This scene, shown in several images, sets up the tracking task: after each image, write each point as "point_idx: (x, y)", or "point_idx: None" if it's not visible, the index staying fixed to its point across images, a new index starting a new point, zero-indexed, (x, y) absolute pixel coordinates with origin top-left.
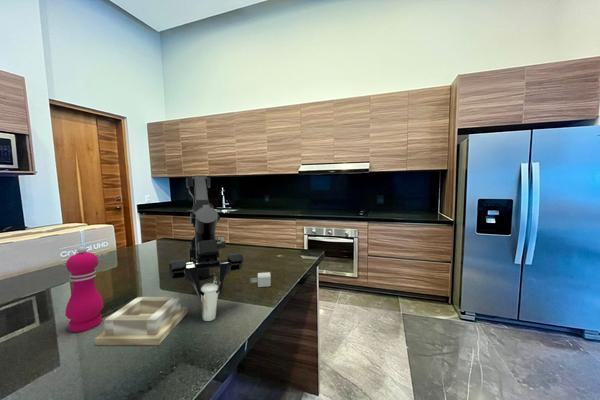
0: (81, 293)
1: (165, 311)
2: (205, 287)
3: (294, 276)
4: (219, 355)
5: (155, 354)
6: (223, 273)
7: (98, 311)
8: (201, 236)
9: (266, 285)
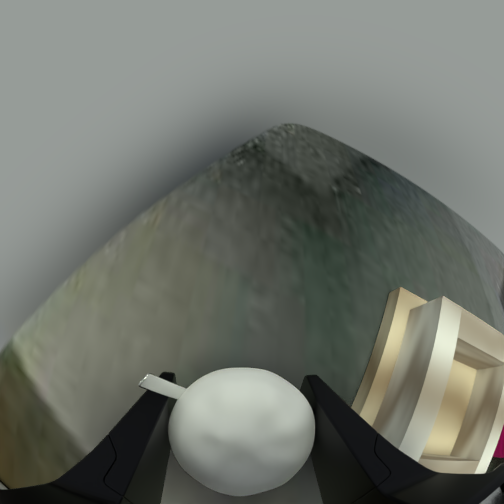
0: None
1: (427, 363)
2: (285, 404)
3: None
4: (234, 176)
5: (386, 255)
6: (86, 476)
7: None
8: None
9: (3, 486)
